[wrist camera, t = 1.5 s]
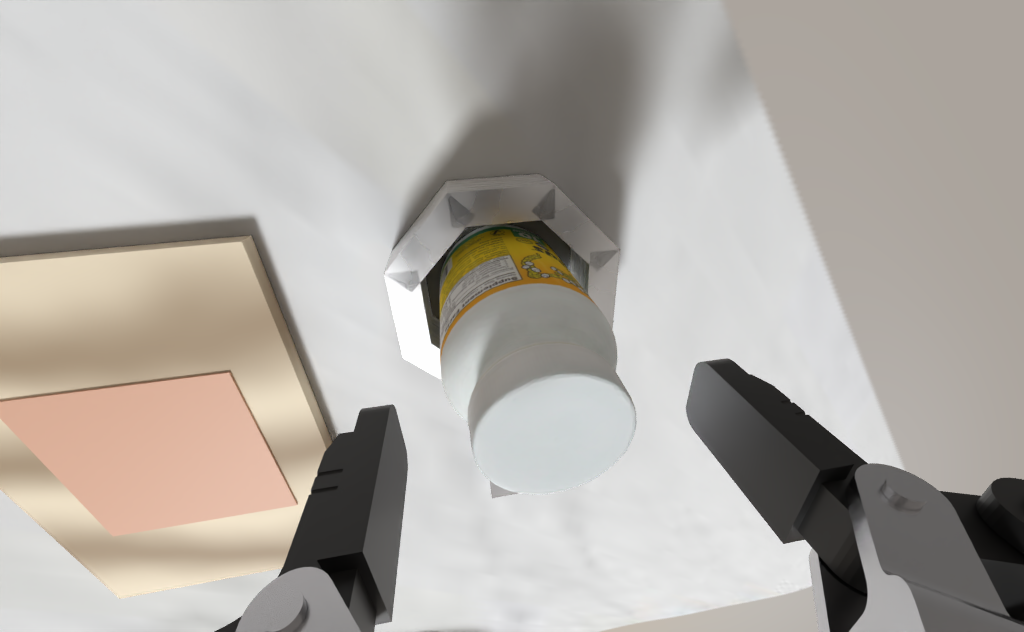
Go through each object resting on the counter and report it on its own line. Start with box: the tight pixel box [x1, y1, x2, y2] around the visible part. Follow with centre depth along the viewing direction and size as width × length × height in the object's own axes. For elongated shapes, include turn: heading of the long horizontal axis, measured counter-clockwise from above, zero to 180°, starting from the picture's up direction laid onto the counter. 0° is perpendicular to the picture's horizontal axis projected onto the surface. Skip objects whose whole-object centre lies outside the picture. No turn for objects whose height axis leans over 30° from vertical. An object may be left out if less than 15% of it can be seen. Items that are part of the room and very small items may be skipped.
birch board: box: [0, 235, 332, 599], centre depth 18 cm, size 20×14×1 cm
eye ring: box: [384, 174, 620, 498], centre depth 18 cm, size 18×9×2 cm, turn 3°
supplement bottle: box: [439, 224, 636, 495], centre depth 13 cm, size 5×5×10 cm
